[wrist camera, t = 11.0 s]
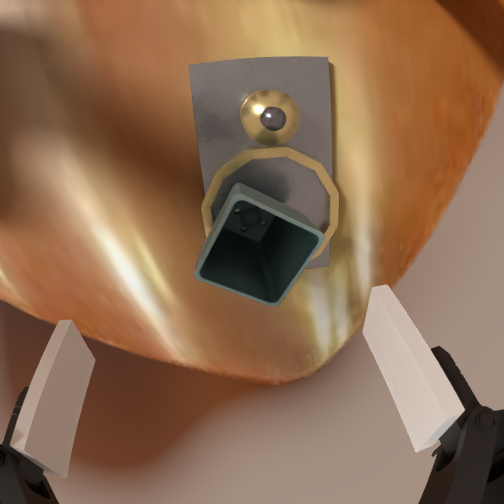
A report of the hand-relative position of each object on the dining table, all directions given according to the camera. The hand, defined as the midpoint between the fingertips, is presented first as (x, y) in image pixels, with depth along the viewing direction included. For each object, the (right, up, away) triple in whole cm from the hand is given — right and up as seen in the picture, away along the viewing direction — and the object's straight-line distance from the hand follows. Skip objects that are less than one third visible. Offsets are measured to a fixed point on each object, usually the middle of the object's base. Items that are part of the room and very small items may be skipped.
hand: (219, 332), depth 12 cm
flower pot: (+1, +7, +22) cm, 23 cm away
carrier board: (+3, +12, +20) cm, 24 cm away
